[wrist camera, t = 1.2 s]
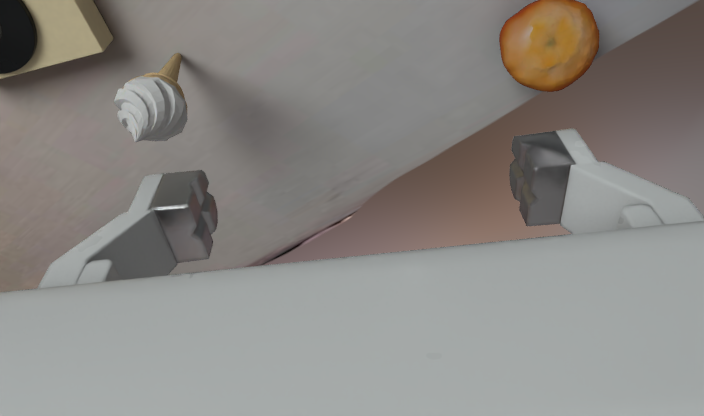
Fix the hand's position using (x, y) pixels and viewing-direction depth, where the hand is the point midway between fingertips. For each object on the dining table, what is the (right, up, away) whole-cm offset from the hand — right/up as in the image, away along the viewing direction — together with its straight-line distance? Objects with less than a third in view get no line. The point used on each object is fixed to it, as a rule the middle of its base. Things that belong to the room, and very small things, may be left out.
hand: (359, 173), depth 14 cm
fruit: (+17, +16, +36) cm, 43 cm away
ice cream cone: (-16, +14, +37) cm, 42 cm away
